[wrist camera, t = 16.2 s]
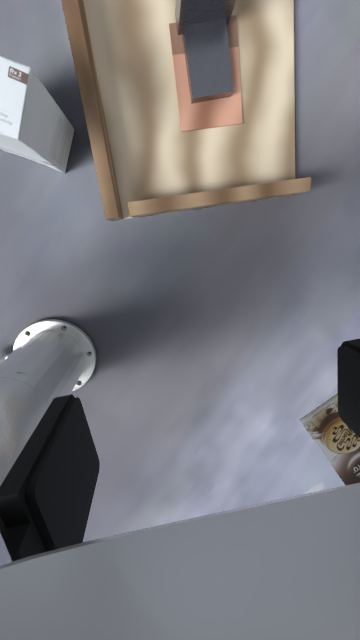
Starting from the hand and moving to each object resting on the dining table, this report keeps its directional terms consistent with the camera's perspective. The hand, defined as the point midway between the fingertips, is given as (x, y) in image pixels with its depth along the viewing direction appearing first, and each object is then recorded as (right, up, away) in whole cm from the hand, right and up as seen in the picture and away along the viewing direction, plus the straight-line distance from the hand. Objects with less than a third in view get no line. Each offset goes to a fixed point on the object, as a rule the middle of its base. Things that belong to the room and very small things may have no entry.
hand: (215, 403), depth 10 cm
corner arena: (0, +31, +27) cm, 41 cm away
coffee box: (+26, -15, +43) cm, 53 cm away
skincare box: (-19, +26, +27) cm, 42 cm away
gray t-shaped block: (+2, +35, +24) cm, 43 cm away
